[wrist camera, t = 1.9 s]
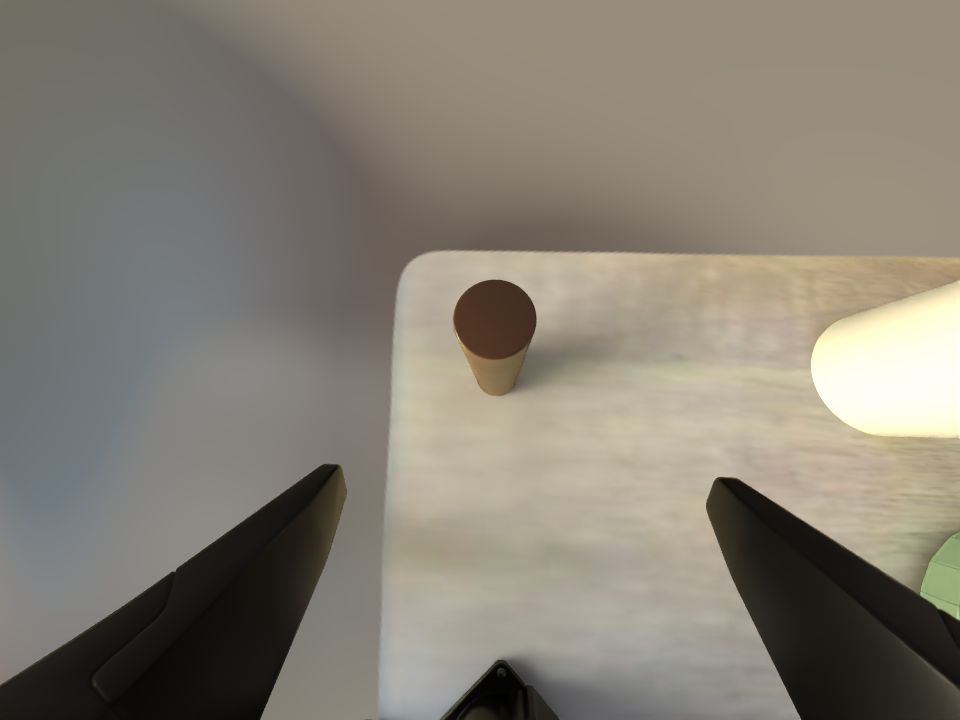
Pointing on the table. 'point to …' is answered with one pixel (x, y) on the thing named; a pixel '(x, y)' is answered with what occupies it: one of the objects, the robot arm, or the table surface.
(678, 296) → the table surface
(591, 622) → the table surface
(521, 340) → the stir stick
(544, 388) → the table surface
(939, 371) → the beverage can
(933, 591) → the bowl
